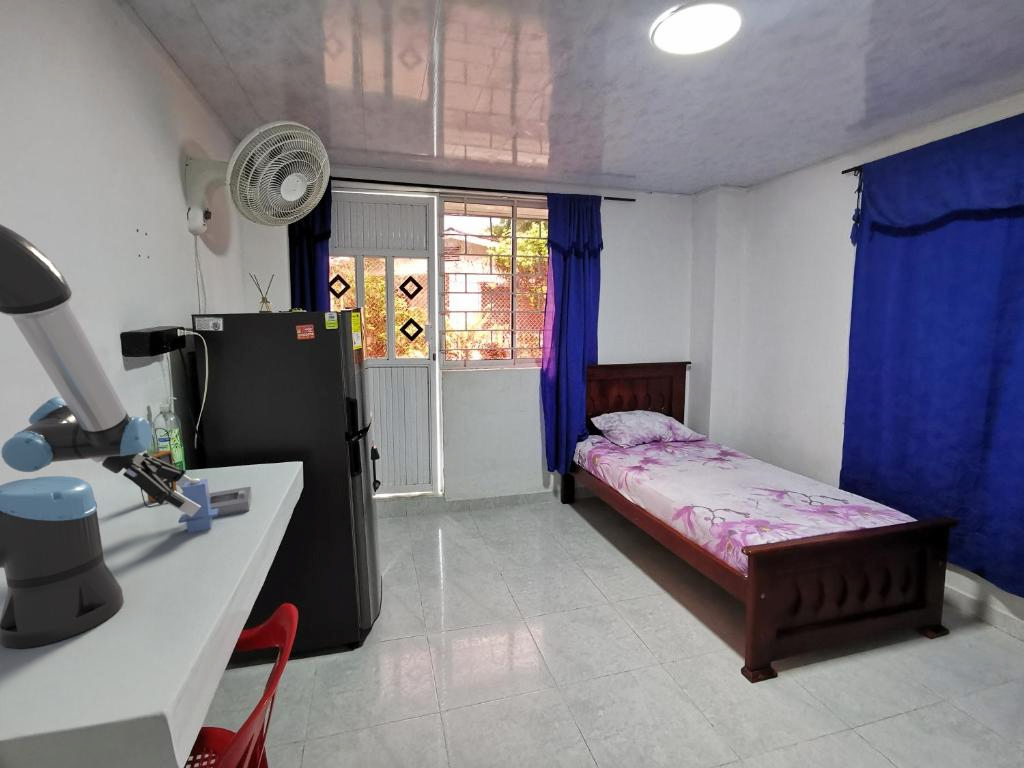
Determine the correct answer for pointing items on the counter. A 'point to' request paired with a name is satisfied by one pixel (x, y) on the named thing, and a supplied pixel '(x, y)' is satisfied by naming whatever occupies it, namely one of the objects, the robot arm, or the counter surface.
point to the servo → (199, 495)
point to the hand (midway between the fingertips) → (200, 502)
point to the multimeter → (167, 458)
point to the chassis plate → (231, 501)
